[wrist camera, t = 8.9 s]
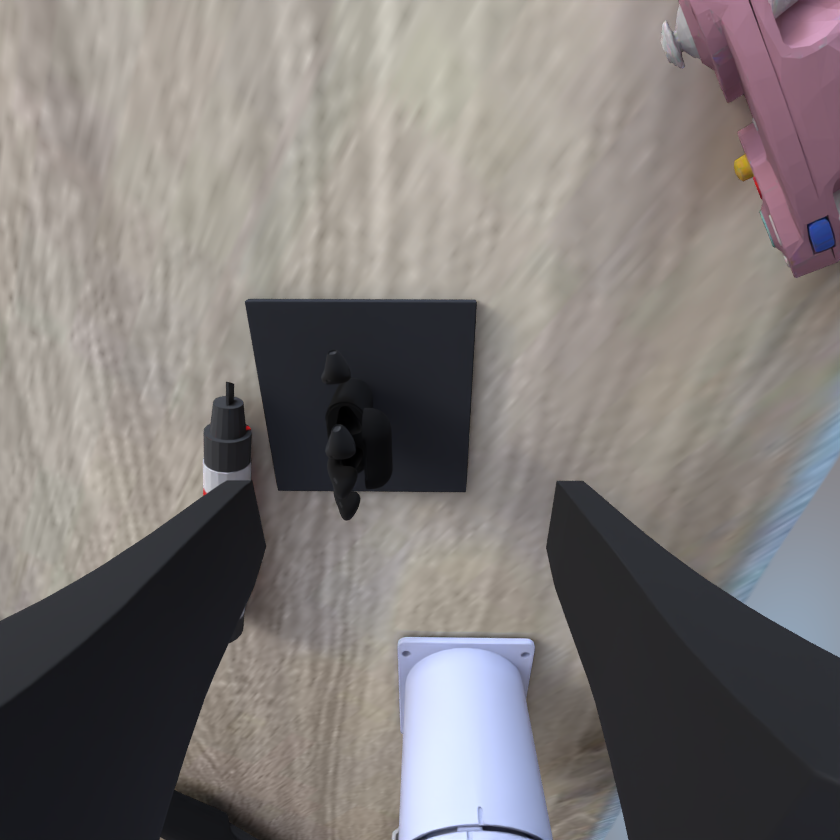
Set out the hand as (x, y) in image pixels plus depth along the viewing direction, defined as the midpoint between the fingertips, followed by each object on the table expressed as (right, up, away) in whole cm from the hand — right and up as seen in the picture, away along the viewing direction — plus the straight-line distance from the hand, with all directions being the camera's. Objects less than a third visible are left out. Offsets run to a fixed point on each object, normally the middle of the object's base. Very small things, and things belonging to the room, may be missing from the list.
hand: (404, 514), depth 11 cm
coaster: (-2, +3, +9) cm, 10 cm away
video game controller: (+11, +13, +4) cm, 17 cm away
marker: (-9, -2, +12) cm, 15 cm away
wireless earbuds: (-2, +3, +9) cm, 10 cm away
